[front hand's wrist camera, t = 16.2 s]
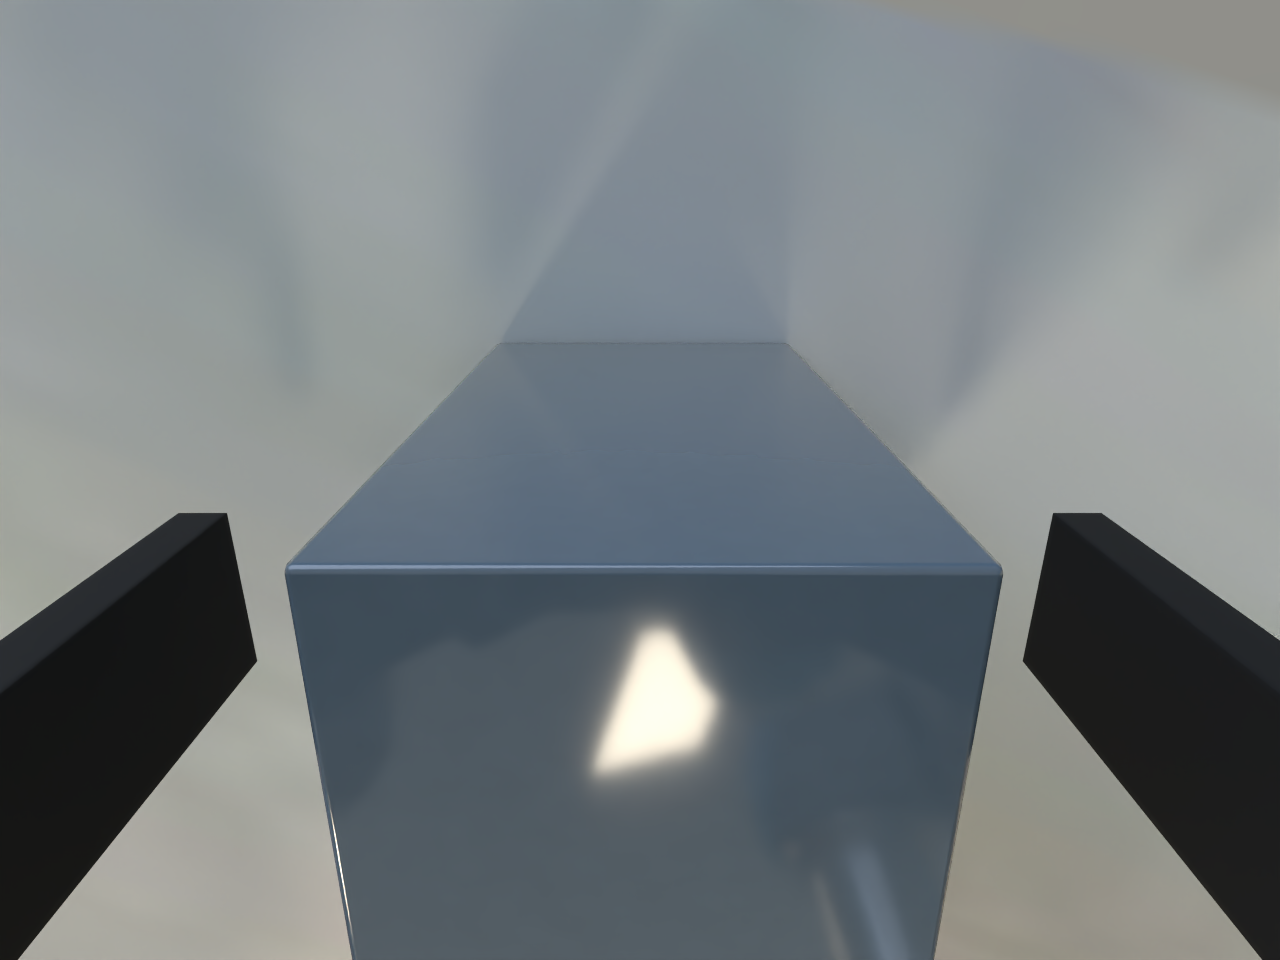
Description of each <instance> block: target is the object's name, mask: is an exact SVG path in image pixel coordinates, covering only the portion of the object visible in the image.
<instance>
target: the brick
mask: <svg viewBox="0 0 1280 960" xmlns="http://www.w3.org/2000/svg"><path fill="white" fill-rule="evenodd" d="M1002 577H1003V571H1002V567H1001V565H1000V564H999V563H998V562H997V560H996V559H995V558H994V557H993V556H992V555H991V554H990V553H989V552H988V551H987V550H986V549H985V548H984V547H983V546H982V545H981V544H980V543H979V542H978V541H977V540H976V539H975V538H974V537H973V536H972V535H971V533H970V532H969V531H968V530H967V529H966V528H965V527H964V526H963V525H962V524H961V523H960V522H959V521H958V520H957V519H956V518H955V517H954V516H953V515H952V514H951V513H950V512H949V511H948V510H947V509H946V508H945V507H944V505H943V504H942V503H941V502H940V501H939V500H938V499H937V498H936V497H935V496H934V495H933V494H932V493H931V492H930V491H929V490H928V489H927V488H926V487H925V486H924V485H923V484H922V483H921V482H920V481H919V480H918V478H917V477H916V476H915V475H914V474H913V473H912V472H911V471H910V470H909V469H908V468H907V467H906V466H905V465H904V464H903V463H902V462H901V461H900V460H899V459H898V458H897V457H896V456H895V455H894V454H893V453H892V451H891V450H890V449H889V448H888V447H887V446H886V445H885V444H884V443H883V442H882V441H881V440H880V439H879V438H878V437H877V436H876V435H875V434H874V433H873V432H872V431H871V430H870V429H869V428H868V427H867V426H866V424H865V423H864V422H863V421H862V420H861V419H860V418H859V417H858V416H857V415H856V414H855V413H854V412H853V411H852V410H851V409H850V408H849V407H848V406H847V405H846V404H845V403H844V402H843V401H842V400H841V399H840V397H839V396H838V395H837V394H836V393H835V392H834V391H833V390H832V389H831V388H830V387H829V386H828V385H827V384H826V383H825V382H824V381H823V380H822V379H821V378H820V377H819V376H818V375H817V374H816V373H815V372H814V370H813V369H812V368H811V367H810V366H809V365H808V364H807V363H806V362H805V361H804V360H803V359H802V358H801V357H800V356H799V355H798V354H797V353H796V352H795V351H794V350H793V349H792V348H791V347H790V346H789V345H788V344H786V343H500V344H497V346H496V347H495V348H494V349H493V350H492V351H491V352H490V353H489V354H488V355H487V356H486V357H485V358H484V359H483V360H482V361H481V362H480V363H479V364H478V365H477V366H476V367H475V368H474V369H473V371H472V372H471V373H470V374H469V375H468V376H467V377H466V378H465V379H464V380H463V381H462V382H461V383H460V384H459V385H458V386H457V387H456V388H455V389H454V390H453V391H452V392H451V393H450V394H449V396H448V397H447V398H446V399H445V400H444V401H443V402H442V403H441V404H440V405H439V406H438V407H437V408H436V409H435V410H434V411H433V412H432V413H431V414H430V415H429V416H428V417H427V418H426V420H425V421H424V422H423V423H422V424H421V425H420V426H419V427H418V428H417V429H416V430H415V431H414V432H413V433H412V434H411V435H410V436H409V437H408V438H407V439H406V440H405V441H404V442H403V443H402V445H401V446H400V447H399V448H398V449H397V450H396V451H395V452H394V453H393V454H392V455H391V456H390V457H389V458H388V459H387V460H386V461H385V462H384V463H383V464H382V465H381V466H380V467H379V468H378V470H377V471H376V472H375V473H374V474H373V475H372V476H371V477H370V478H369V479H368V480H367V481H366V482H365V483H364V484H363V485H362V486H361V487H360V488H359V489H358V490H357V491H356V492H355V493H354V495H353V496H352V497H351V498H350V499H349V500H348V501H347V502H346V503H345V504H344V505H343V506H342V507H341V508H340V509H339V510H338V511H337V512H336V513H335V514H334V515H333V516H332V517H331V518H330V520H329V521H328V522H327V523H326V524H325V525H324V526H323V527H322V528H321V529H320V530H319V531H318V532H317V533H316V534H315V535H314V536H313V537H312V538H311V539H310V540H309V541H308V542H307V543H306V545H305V546H304V547H303V548H302V549H301V550H300V551H299V552H298V553H297V554H296V555H295V556H294V557H293V558H292V559H291V560H290V561H289V562H288V563H287V565H286V569H285V578H286V584H287V589H288V595H289V601H290V606H291V612H292V618H293V624H294V629H295V635H296V641H297V646H298V652H299V658H300V663H301V669H302V675H303V681H304V686H305V692H306V698H307V703H308V709H309V715H310V720H311V726H312V732H313V738H314V743H315V749H316V755H317V760H318V766H319V772H320V777H321V783H322V789H323V794H324V800H325V806H326V812H327V817H328V823H329V829H330V834H331V840H332V846H333V851H334V857H335V863H336V869H337V874H338V880H339V886H340V891H341V897H342V903H343V908H344V914H345V920H346V926H347V931H348V937H349V943H350V948H351V954H352V960H934V956H935V951H936V945H937V940H938V934H939V928H940V923H941V917H942V912H943V906H944V901H945V895H946V889H947V884H948V878H949V873H950V867H951V862H952V856H953V850H954V845H955V839H956V834H957V828H958V823H959V817H960V811H961V806H962V800H963V795H964V789H965V784H966V778H967V772H968V767H969V761H970V756H971V750H972V745H973V739H974V733H975V728H976V722H977V717H978V711H979V706H980V700H981V694H982V689H983V683H984V678H985V672H986V667H987V661H988V655H989V650H990V644H991V639H992V633H993V628H994V622H995V616H996V611H997V605H998V600H999V594H1000V589H1001V583H1002Z"/></svg>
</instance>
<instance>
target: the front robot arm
mask: <svg viewBox="0 0 1280 960" xmlns="http://www.w3.org/2000/svg"><path fill="white" fill-rule="evenodd" d="M256 662H257V658H256V653H255V648H254V643H253V638H252V633H251V629H250V624H249V619H248V614H247V609H246V604H245V599H244V594H243V590H242V585H241V580H240V575H239V570H238V565H237V560H236V555H235V550H234V546H233V541H232V536H231V531H230V526H229V521H228V516H227V513H178V514H177V515H175V516H174V517H173V518H171V519H170V520H168V521H167V522H166V523H164V524H163V525H161V526H160V527H159V528H157V529H156V530H154V531H153V532H152V533H150V534H149V535H147V536H146V537H145V538H143V539H142V540H140V541H139V542H138V543H136V544H135V545H133V546H132V547H131V548H129V549H128V550H126V551H125V552H124V553H122V554H121V555H119V556H118V557H117V558H115V559H114V560H112V561H111V562H110V563H108V564H107V565H105V566H104V567H103V568H101V569H100V570H98V571H97V572H96V573H94V574H93V575H91V576H90V577H89V578H87V579H86V580H84V581H83V582H82V583H80V584H79V585H77V586H76V587H75V588H73V589H72V590H70V591H69V592H68V593H66V594H65V595H63V596H62V597H61V598H59V599H58V600H56V601H55V602H54V603H52V604H51V605H49V606H48V607H47V608H45V609H44V610H42V611H41V612H40V613H38V614H37V615H35V616H34V617H33V618H31V619H30V620H28V621H27V622H26V623H24V624H23V625H21V626H20V627H19V628H17V629H16V630H14V631H13V632H12V633H10V634H9V635H7V636H6V637H5V638H3V639H2V640H0V960H18V959H19V957H20V956H21V955H22V954H23V952H24V951H25V950H26V949H27V947H28V946H29V945H30V944H31V942H32V941H33V940H34V939H35V937H36V936H37V935H38V934H39V933H40V931H41V930H42V929H43V928H44V926H45V925H46V924H47V923H48V921H49V920H50V919H51V918H52V916H53V915H54V914H55V913H56V911H57V910H58V909H59V908H60V906H61V905H62V904H63V903H64V901H65V900H66V899H67V898H68V896H69V895H70V894H71V893H72V891H73V890H74V889H75V888H76V886H77V885H78V884H79V883H80V881H81V880H82V879H83V878H84V876H85V875H86V874H87V873H88V871H89V870H90V869H91V868H92V866H93V865H94V864H95V863H96V861H97V860H98V859H99V858H100V856H101V855H102V854H103V853H104V851H105V850H106V849H107V848H108V846H109V845H110V844H111V843H112V841H113V840H114V839H115V838H116V836H117V835H118V834H119V833H120V832H121V830H122V829H123V828H124V827H125V825H126V824H127V823H128V822H129V820H130V819H131V818H132V817H133V815H134V814H135V813H136V812H137V810H138V809H139V808H140V807H141V805H142V804H143V803H144V802H145V800H146V799H147V798H148V797H149V795H150V794H151V793H152V792H153V790H154V789H155V788H156V787H157V785H158V784H159V783H160V782H161V780H162V779H163V778H164V777H165V775H166V774H167V773H168V772H169V770H170V769H171V768H172V767H173V765H174V764H175V763H176V762H177V760H178V759H179V758H180V757H181V755H182V754H183V753H184V752H185V750H186V749H187V748H188V747H189V745H190V744H191V743H192V742H193V740H194V739H195V738H196V737H197V735H198V734H199V733H200V732H201V731H202V729H203V728H204V727H205V726H206V724H207V723H208V722H209V721H210V719H211V718H212V717H213V716H214V714H215V713H216V712H217V711H218V709H219V708H220V707H221V706H222V704H223V703H224V702H225V701H226V699H227V698H228V697H229V696H230V694H231V693H232V692H233V691H234V689H235V688H236V687H237V686H238V684H239V683H240V682H241V681H242V679H243V678H244V677H245V676H246V674H247V673H248V672H249V671H250V669H251V668H252V667H253V666H254V664H255V663H256ZM1023 662H1024V663H1025V664H1026V666H1027V667H1028V668H1029V669H1030V671H1031V672H1032V673H1033V674H1034V676H1035V677H1036V678H1037V679H1038V681H1039V682H1040V683H1041V684H1042V686H1043V687H1044V688H1045V689H1046V691H1047V692H1048V693H1049V694H1050V696H1051V697H1052V698H1053V699H1054V701H1055V702H1056V703H1057V704H1058V706H1059V707H1060V708H1061V709H1062V711H1063V712H1064V713H1065V714H1066V716H1067V717H1068V718H1069V719H1070V721H1071V722H1072V723H1073V724H1074V726H1075V727H1076V728H1077V729H1078V731H1079V732H1080V733H1081V734H1082V735H1083V737H1084V738H1085V739H1086V740H1087V742H1088V743H1089V744H1090V745H1091V747H1092V748H1093V749H1094V750H1095V752H1096V753H1097V754H1098V755H1099V757H1100V758H1101V759H1102V760H1103V762H1104V763H1105V764H1106V765H1107V767H1108V768H1109V769H1110V770H1111V772H1112V773H1113V774H1114V775H1115V777H1116V778H1117V779H1118V780H1119V782H1120V783H1121V784H1122V785H1123V787H1124V788H1125V789H1126V790H1127V792H1128V793H1129V794H1130V795H1131V797H1132V798H1133V799H1134V800H1135V802H1136V803H1137V804H1138V805H1139V807H1140V808H1141V809H1142V810H1143V812H1144V813H1145V814H1146V815H1147V817H1148V818H1149V819H1150V820H1151V822H1152V823H1153V824H1154V825H1155V827H1156V828H1157V829H1158V830H1159V832H1160V833H1161V834H1162V835H1163V836H1164V838H1165V839H1166V840H1167V841H1168V843H1169V844H1170V845H1171V846H1172V848H1173V849H1174V850H1175V851H1176V853H1177V854H1178V855H1179V856H1180V858H1181V859H1182V860H1183V861H1184V863H1185V864H1186V865H1187V866H1188V868H1189V869H1190V870H1191V871H1192V873H1193V874H1194V875H1195V876H1196V878H1197V879H1198V880H1199V881H1200V883H1201V884H1202V885H1203V886H1204V888H1205V889H1206V890H1207V891H1208V893H1209V894H1210V895H1211V896H1212V898H1213V899H1214V900H1215V901H1216V903H1217V904H1218V905H1219V906H1220V908H1221V909H1222V910H1223V911H1224V913H1225V914H1226V915H1227V916H1228V918H1229V919H1230V920H1231V921H1232V923H1233V924H1234V925H1235V926H1236V928H1237V929H1238V930H1239V931H1240V933H1241V934H1242V935H1243V936H1244V937H1245V939H1246V940H1247V941H1248V942H1249V944H1250V945H1251V946H1252V947H1253V949H1254V950H1255V951H1256V952H1257V954H1258V955H1259V956H1260V957H1261V959H1262V960H1280V640H1278V639H1277V638H1275V637H1274V636H1273V635H1271V634H1270V633H1268V632H1267V631H1266V630H1264V629H1263V628H1261V627H1260V626H1259V625H1257V624H1256V623H1254V622H1253V621H1252V620H1250V619H1249V618H1247V617H1246V616H1245V615H1243V614H1242V613H1240V612H1239V611H1238V610H1236V609H1235V608H1233V607H1232V606H1231V605H1229V604H1228V603H1226V602H1225V601H1224V600H1222V599H1221V598H1219V597H1218V596H1217V595H1215V594H1214V593H1212V592H1211V591H1210V590H1208V589H1207V588H1205V587H1204V586H1203V585H1201V584H1200V583H1198V582H1197V581H1196V580H1194V579H1193V578H1191V577H1190V576H1189V575H1187V574H1186V573H1184V572H1183V571H1182V570H1180V569H1179V568H1177V567H1176V566H1175V565H1173V564H1172V563H1170V562H1169V561H1168V560H1166V559H1165V558H1163V557H1162V556H1161V555H1159V554H1158V553H1156V552H1155V551H1154V550H1152V549H1151V548H1149V547H1148V546H1147V545H1145V544H1144V543H1142V542H1141V541H1140V540H1138V539H1137V538H1135V537H1134V536H1133V535H1131V534H1130V533H1128V532H1127V531H1126V530H1124V529H1123V528H1121V527H1120V526H1119V525H1117V524H1116V523H1114V522H1113V521H1112V520H1110V519H1109V518H1107V517H1106V516H1105V515H1103V514H1102V513H1053V516H1052V521H1051V526H1050V531H1049V536H1048V541H1047V546H1046V550H1045V555H1044V560H1043V565H1042V570H1041V575H1040V580H1039V585H1038V590H1037V594H1036V599H1035V604H1034V609H1033V614H1032V619H1031V624H1030V629H1029V633H1028V638H1027V643H1026V648H1025V653H1024V658H1023Z"/></svg>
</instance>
